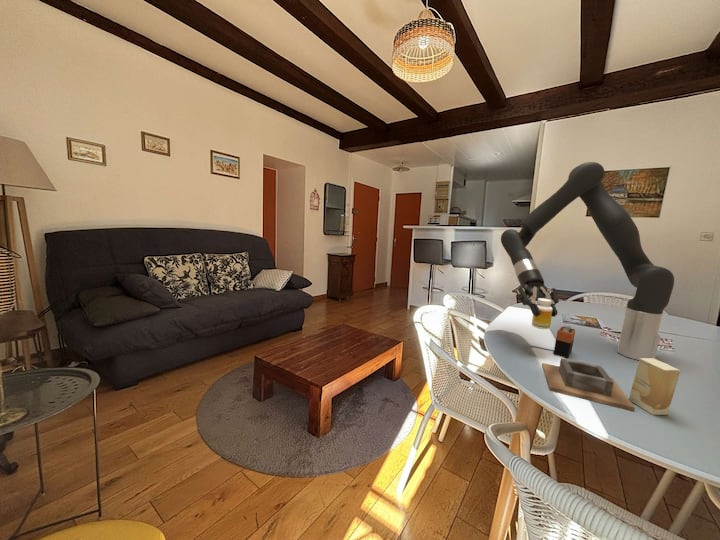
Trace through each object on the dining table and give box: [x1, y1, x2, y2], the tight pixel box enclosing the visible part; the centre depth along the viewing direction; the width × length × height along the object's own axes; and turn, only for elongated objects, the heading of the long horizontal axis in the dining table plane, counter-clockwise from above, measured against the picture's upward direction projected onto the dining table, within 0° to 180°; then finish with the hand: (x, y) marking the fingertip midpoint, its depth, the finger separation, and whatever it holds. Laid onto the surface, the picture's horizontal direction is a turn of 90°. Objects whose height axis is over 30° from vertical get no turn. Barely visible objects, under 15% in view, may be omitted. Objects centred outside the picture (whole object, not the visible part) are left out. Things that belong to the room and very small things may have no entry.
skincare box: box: [628, 358, 681, 416], centre depth 73 cm, size 6×4×12 cm
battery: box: [553, 324, 576, 359], centre depth 103 cm, size 4×7×10 cm, turn 135°
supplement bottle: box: [531, 297, 553, 330], centre depth 99 cm, size 5×5×10 cm
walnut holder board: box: [541, 357, 636, 412], centre depth 83 cm, size 18×16×5 cm
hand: (546, 315), depth 97 cm, fingers closed on supplement bottle, 5 cm apart
